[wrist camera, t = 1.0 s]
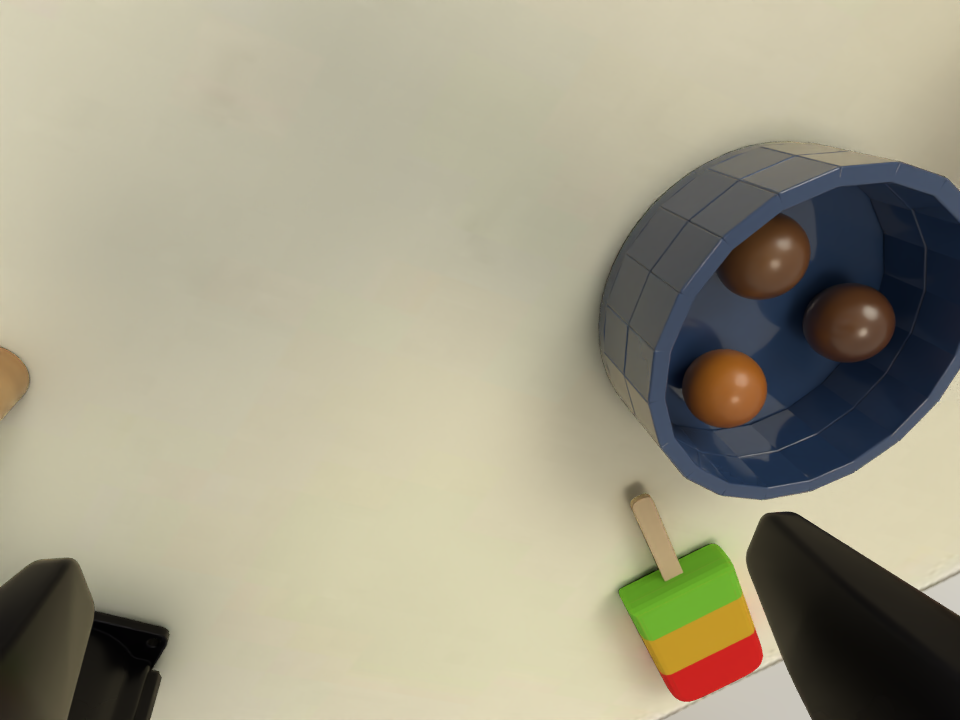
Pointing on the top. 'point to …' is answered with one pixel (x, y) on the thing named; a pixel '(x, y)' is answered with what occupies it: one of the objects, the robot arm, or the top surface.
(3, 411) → the stick
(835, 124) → the top surface
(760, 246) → the bead
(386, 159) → the top surface
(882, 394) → the bowl
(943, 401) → the top surface
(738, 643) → the popsicle
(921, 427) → the top surface
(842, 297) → the bead
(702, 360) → the bead
